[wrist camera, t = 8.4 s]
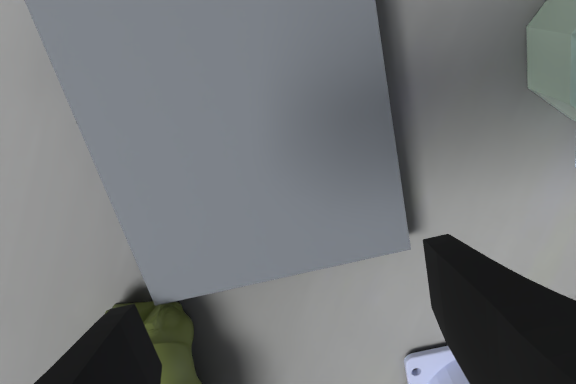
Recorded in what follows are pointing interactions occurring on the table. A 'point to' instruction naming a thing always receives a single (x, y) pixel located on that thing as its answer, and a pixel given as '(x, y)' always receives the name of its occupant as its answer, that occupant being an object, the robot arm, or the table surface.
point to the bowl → (553, 55)
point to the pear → (170, 339)
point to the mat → (233, 133)
